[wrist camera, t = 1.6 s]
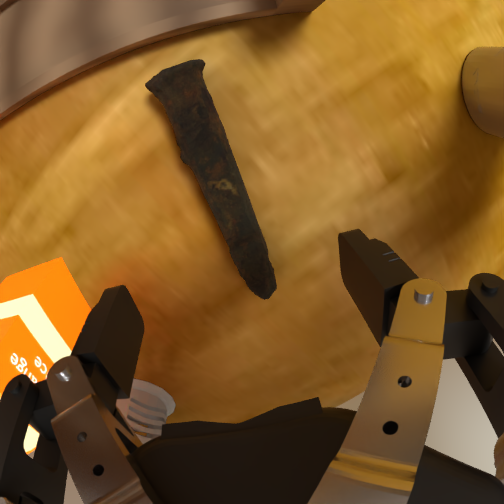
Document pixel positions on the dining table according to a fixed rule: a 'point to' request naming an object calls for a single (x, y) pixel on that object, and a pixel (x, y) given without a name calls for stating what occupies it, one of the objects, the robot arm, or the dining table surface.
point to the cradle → (101, 34)
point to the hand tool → (215, 169)
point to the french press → (146, 408)
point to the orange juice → (38, 324)
